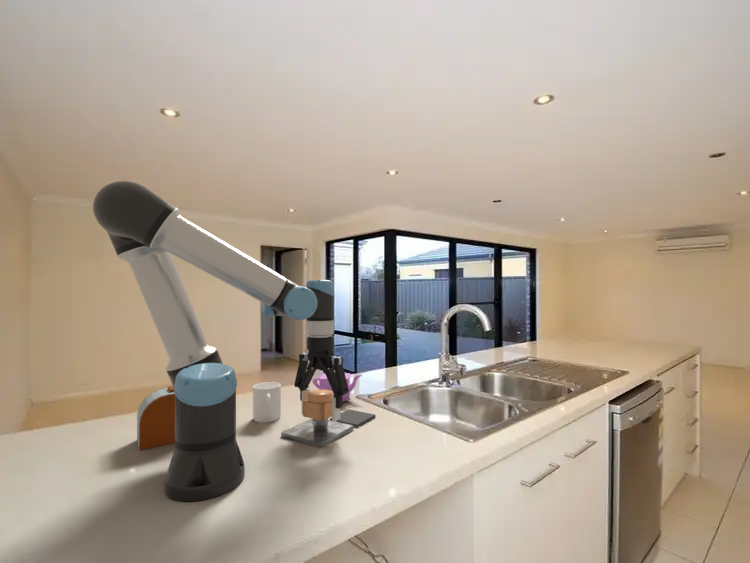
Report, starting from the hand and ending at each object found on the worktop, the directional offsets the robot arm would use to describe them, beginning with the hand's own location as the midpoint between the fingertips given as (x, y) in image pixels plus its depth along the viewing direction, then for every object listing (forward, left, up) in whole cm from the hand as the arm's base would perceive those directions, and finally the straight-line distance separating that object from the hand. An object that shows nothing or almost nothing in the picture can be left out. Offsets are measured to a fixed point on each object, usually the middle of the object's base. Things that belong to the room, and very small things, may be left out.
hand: (320, 416), depth 103 cm
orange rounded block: (-23, +33, -5) cm, 41 cm away
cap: (0, 0, 0) cm, 0 cm away
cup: (0, +21, -5) cm, 22 cm away
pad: (+14, -1, -5) cm, 15 cm away
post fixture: (0, 0, -5) cm, 5 cm away
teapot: (+27, +15, -5) cm, 31 cm away
